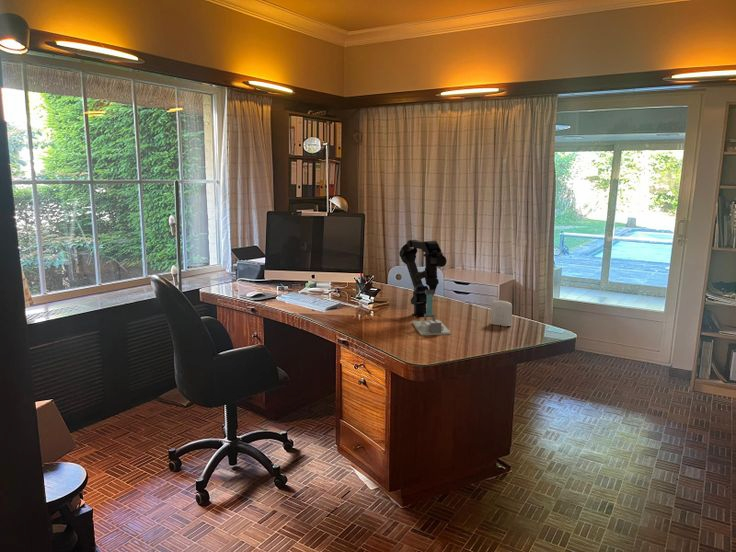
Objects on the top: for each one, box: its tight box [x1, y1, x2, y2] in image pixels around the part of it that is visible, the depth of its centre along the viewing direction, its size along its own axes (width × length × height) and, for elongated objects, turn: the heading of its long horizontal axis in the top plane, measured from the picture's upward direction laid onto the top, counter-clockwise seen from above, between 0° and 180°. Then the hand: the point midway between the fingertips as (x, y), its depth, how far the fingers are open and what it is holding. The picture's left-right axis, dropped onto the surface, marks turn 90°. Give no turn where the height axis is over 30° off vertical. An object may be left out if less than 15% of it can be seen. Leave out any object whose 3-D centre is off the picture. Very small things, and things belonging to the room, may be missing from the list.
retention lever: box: [425, 288, 435, 318], centre depth 260 cm, size 2×4×14 cm, turn 95°
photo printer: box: [490, 300, 513, 327], centre depth 263 cm, size 10×4×12 cm, turn 56°
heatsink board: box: [412, 313, 452, 336], centre depth 259 cm, size 22×14×6 cm, turn 6°
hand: (432, 296), depth 273 cm, fingers closed
